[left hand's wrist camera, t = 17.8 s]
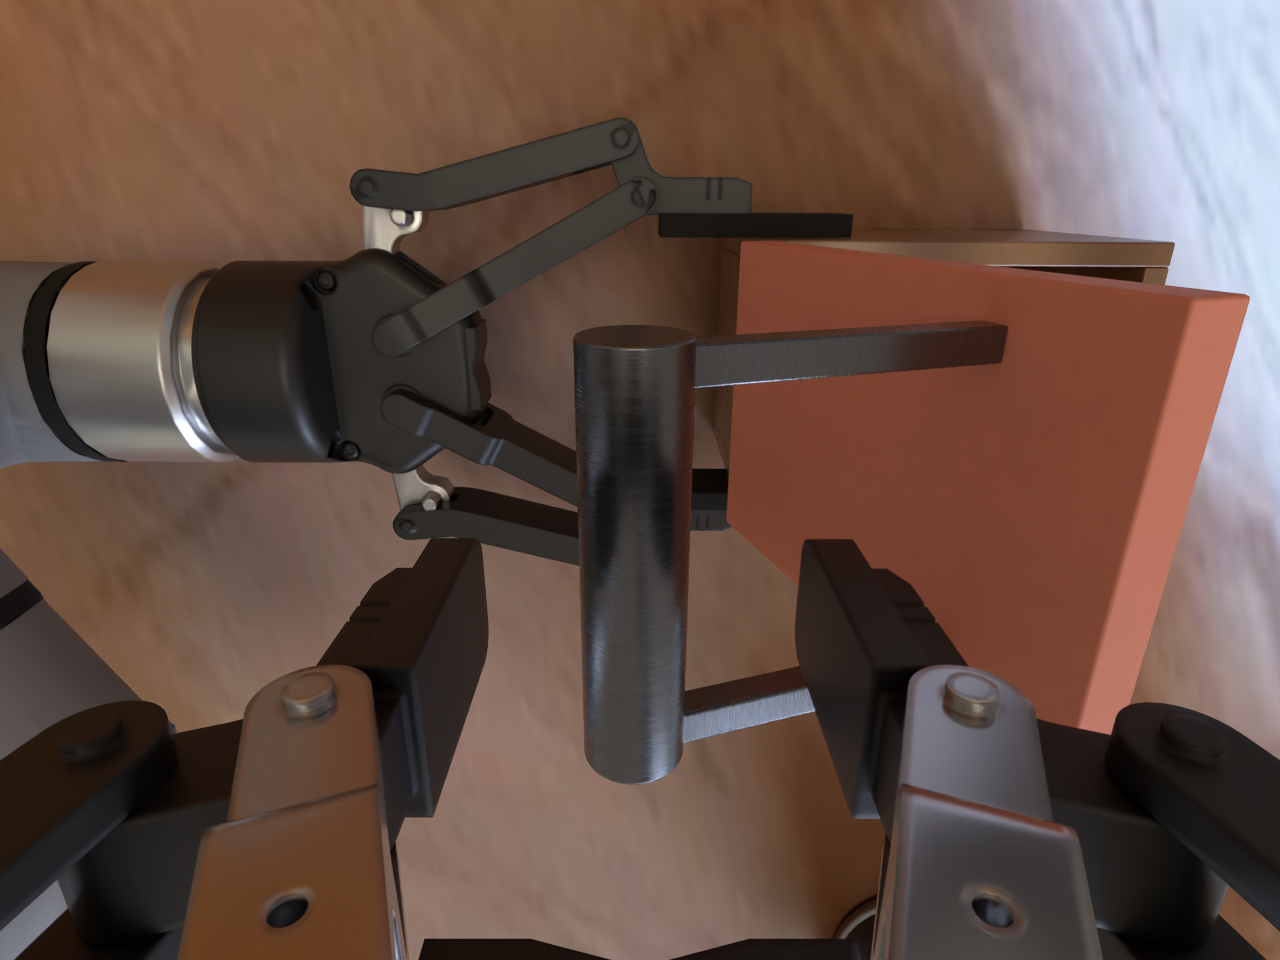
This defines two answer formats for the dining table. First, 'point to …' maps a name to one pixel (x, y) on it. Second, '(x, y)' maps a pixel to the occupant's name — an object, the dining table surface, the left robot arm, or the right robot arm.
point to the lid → (898, 474)
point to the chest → (958, 245)
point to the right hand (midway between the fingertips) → (828, 365)
